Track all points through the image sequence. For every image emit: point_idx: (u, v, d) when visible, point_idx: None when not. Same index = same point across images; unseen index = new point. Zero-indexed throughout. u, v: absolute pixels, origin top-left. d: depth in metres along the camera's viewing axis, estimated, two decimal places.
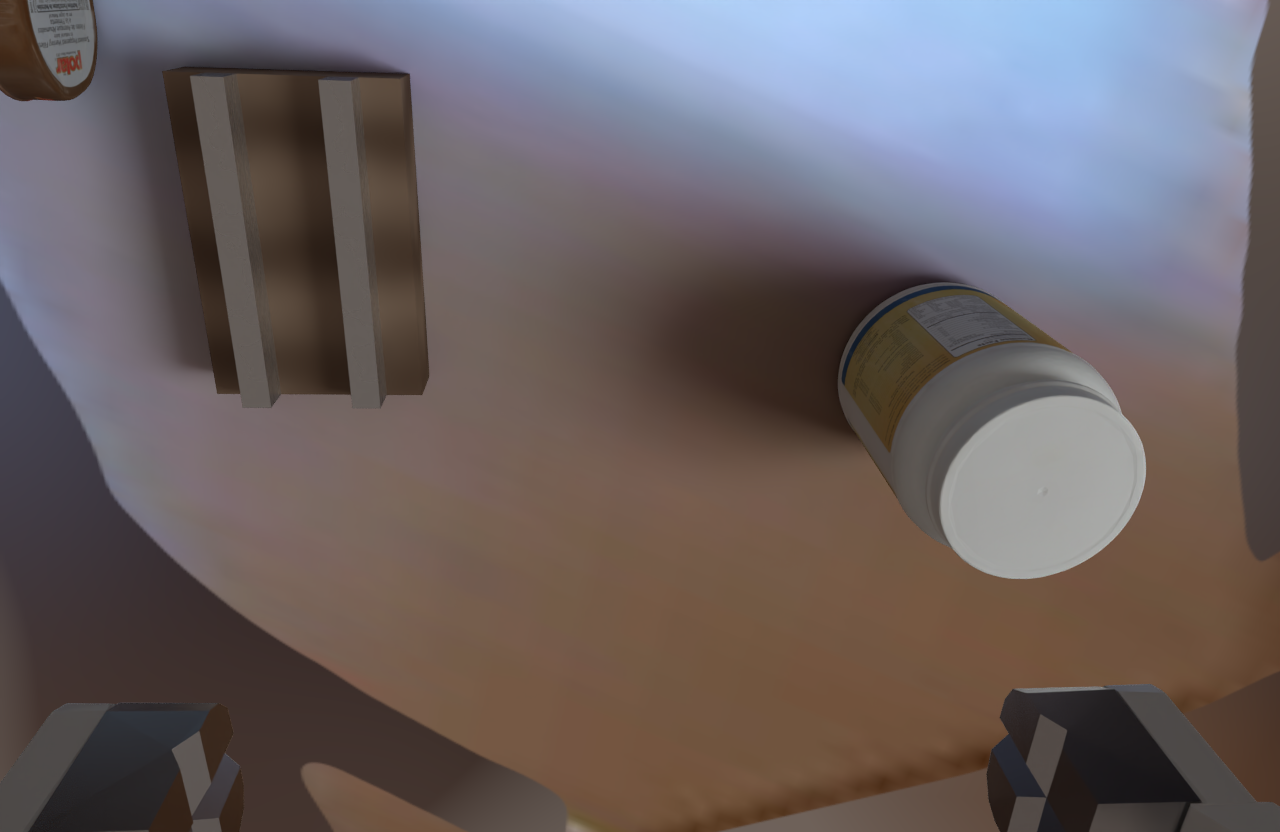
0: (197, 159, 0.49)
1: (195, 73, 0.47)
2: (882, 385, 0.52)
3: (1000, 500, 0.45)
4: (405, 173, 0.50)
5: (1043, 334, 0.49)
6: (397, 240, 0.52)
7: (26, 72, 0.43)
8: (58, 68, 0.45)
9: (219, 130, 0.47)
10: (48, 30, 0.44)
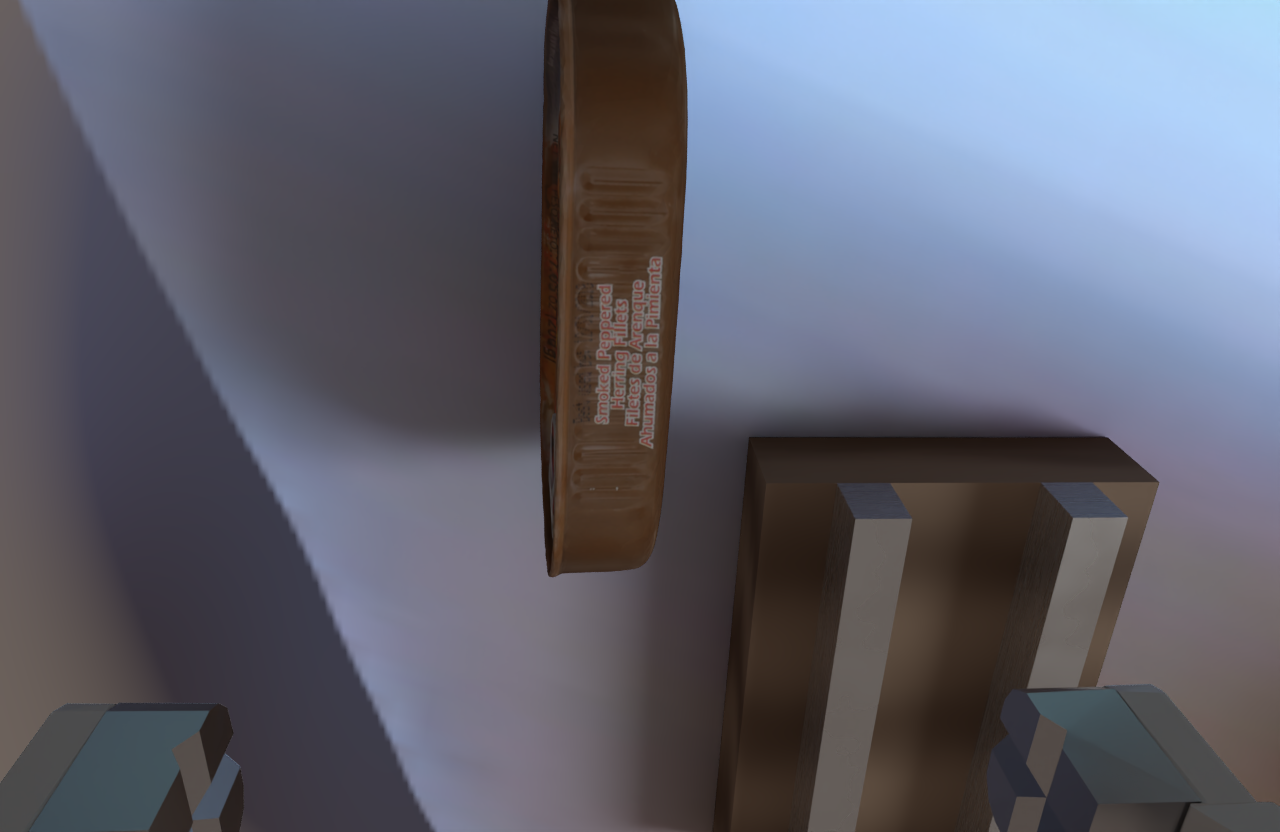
0: (786, 605, 0.29)
1: (821, 484, 0.27)
2: None
3: None
4: (1116, 613, 0.30)
5: None
6: None
7: (621, 563, 0.23)
8: None
9: (878, 595, 0.27)
10: None
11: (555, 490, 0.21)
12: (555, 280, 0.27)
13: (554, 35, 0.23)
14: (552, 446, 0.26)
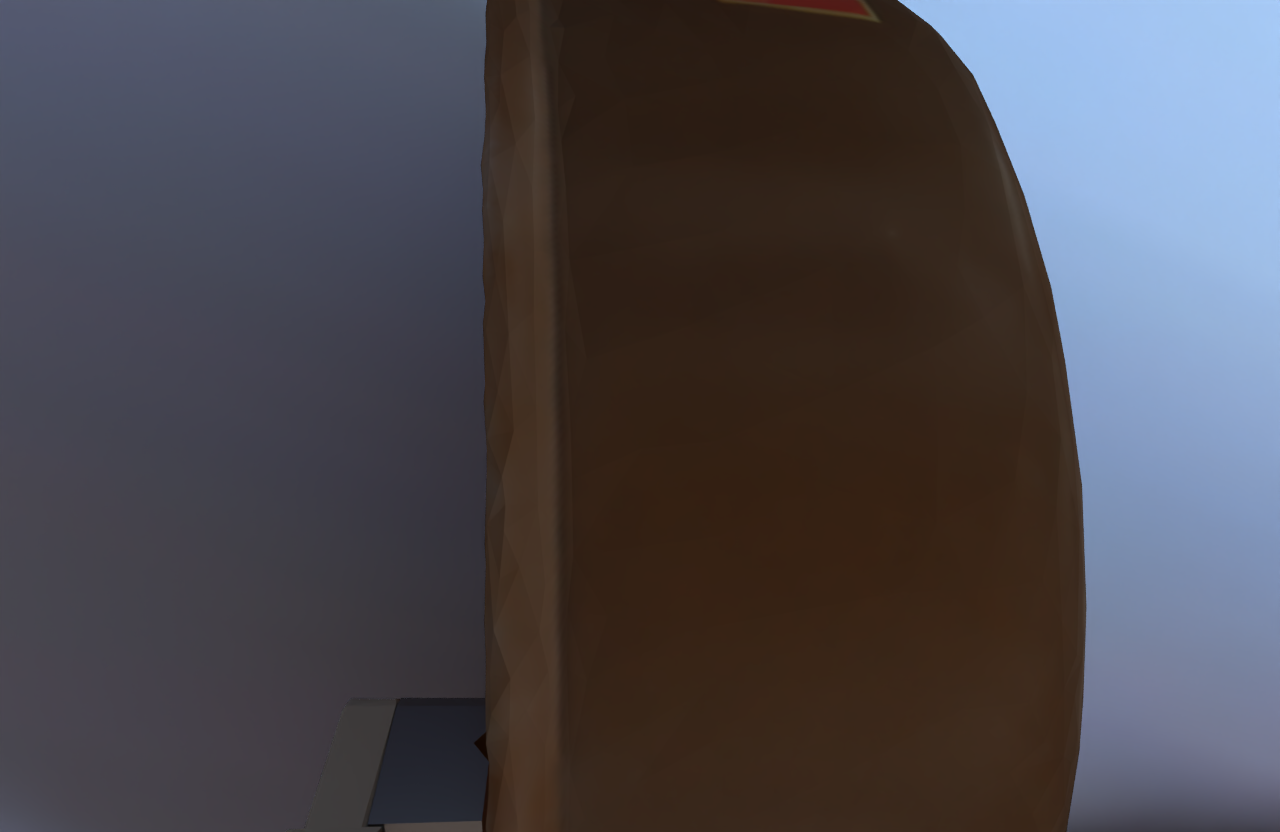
0: None
1: None
2: None
3: None
4: None
5: None
6: None
7: None
8: None
9: None
10: None
11: None
12: None
13: None
14: None
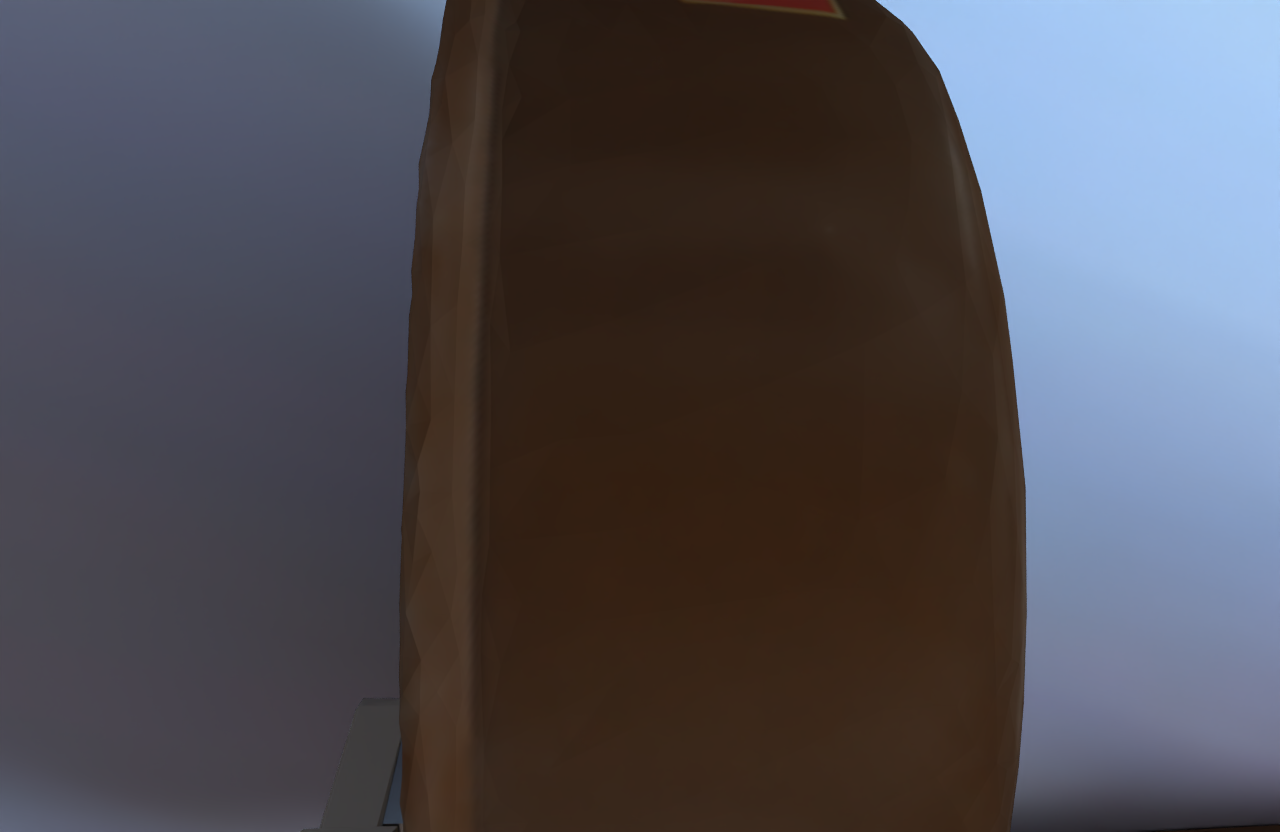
0: None
1: None
2: None
3: None
4: None
5: None
6: None
7: None
8: None
9: None
10: None
11: None
12: None
13: None
14: None
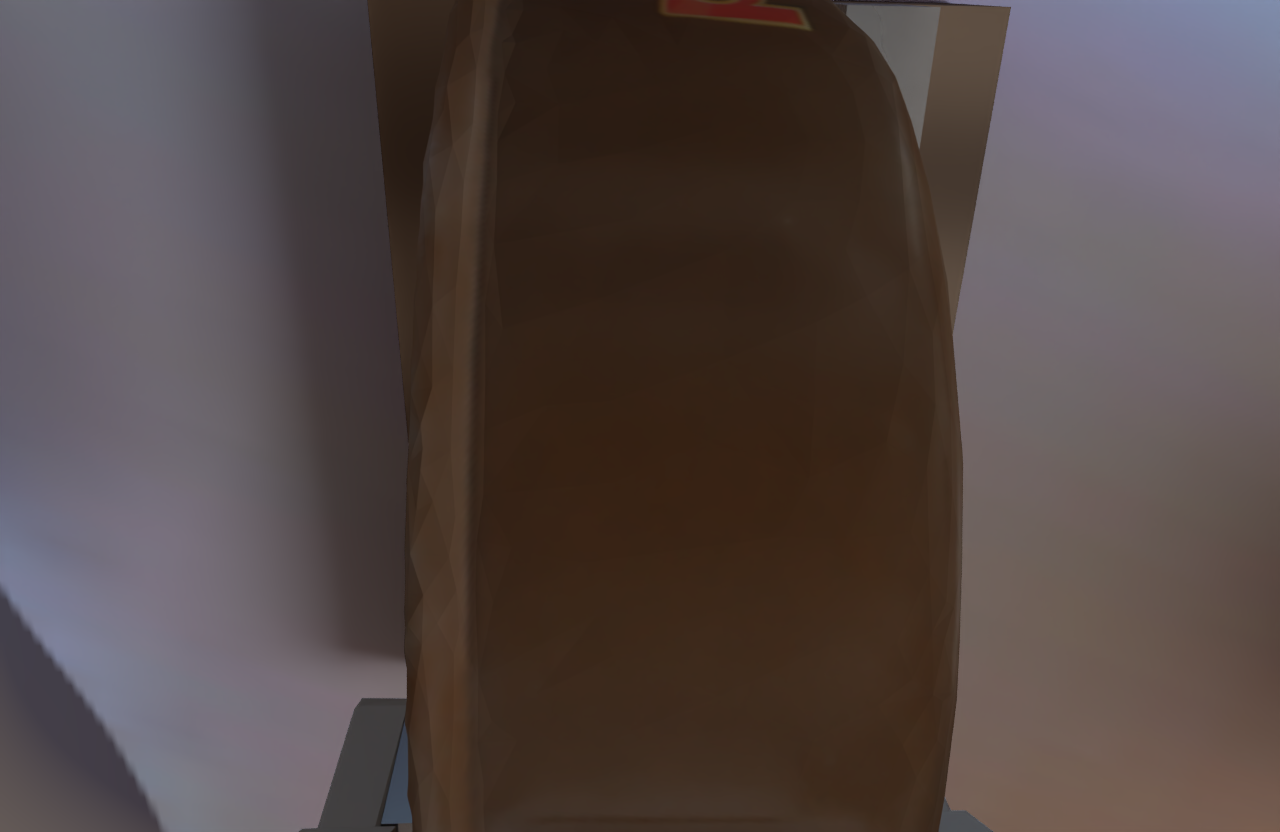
0: None
1: None
2: None
3: None
4: (962, 257, 0.20)
5: None
6: None
7: None
8: None
9: None
10: None
11: None
12: None
13: None
14: None
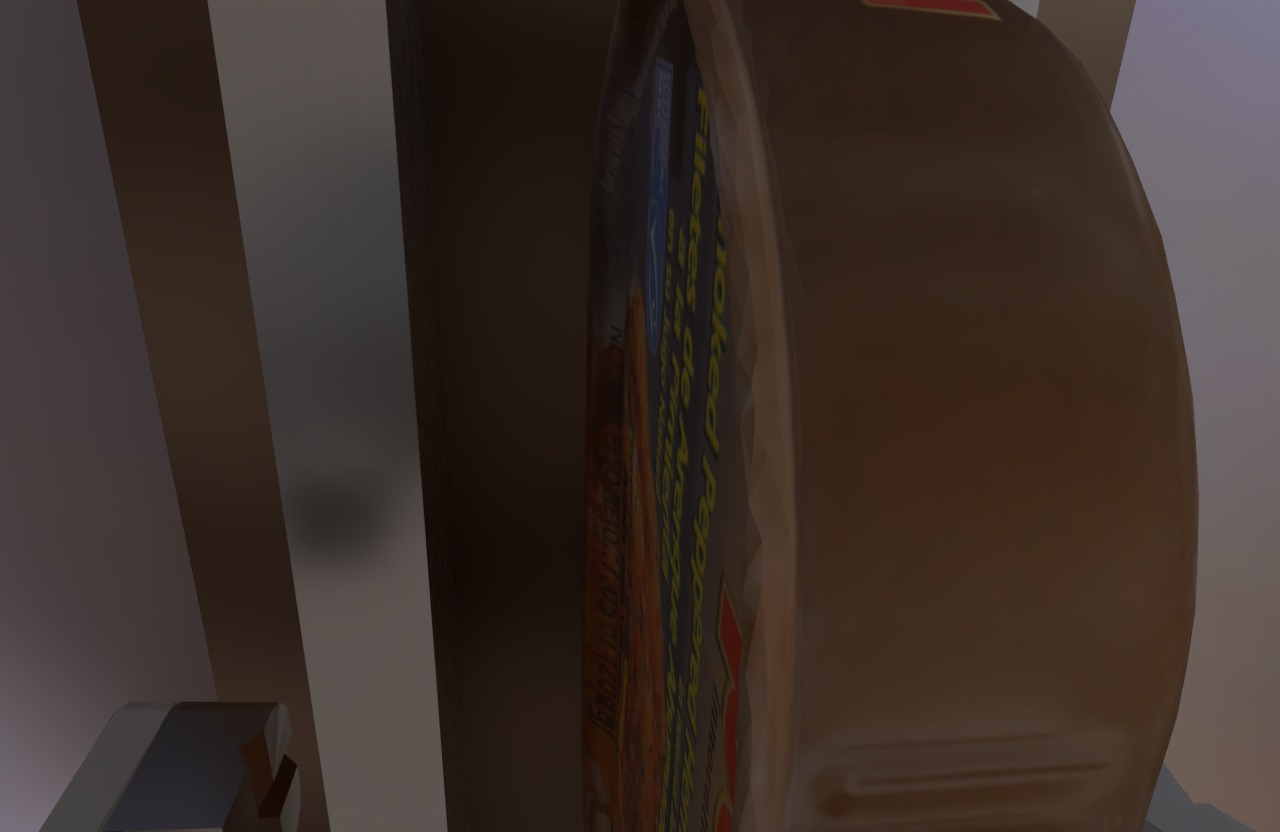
0: (207, 212, 0.11)
1: None
2: None
3: None
4: None
5: None
6: None
7: None
8: None
9: (329, 70, 0.09)
10: None
11: None
12: (614, 599, 0.13)
13: (620, 128, 0.10)
14: None
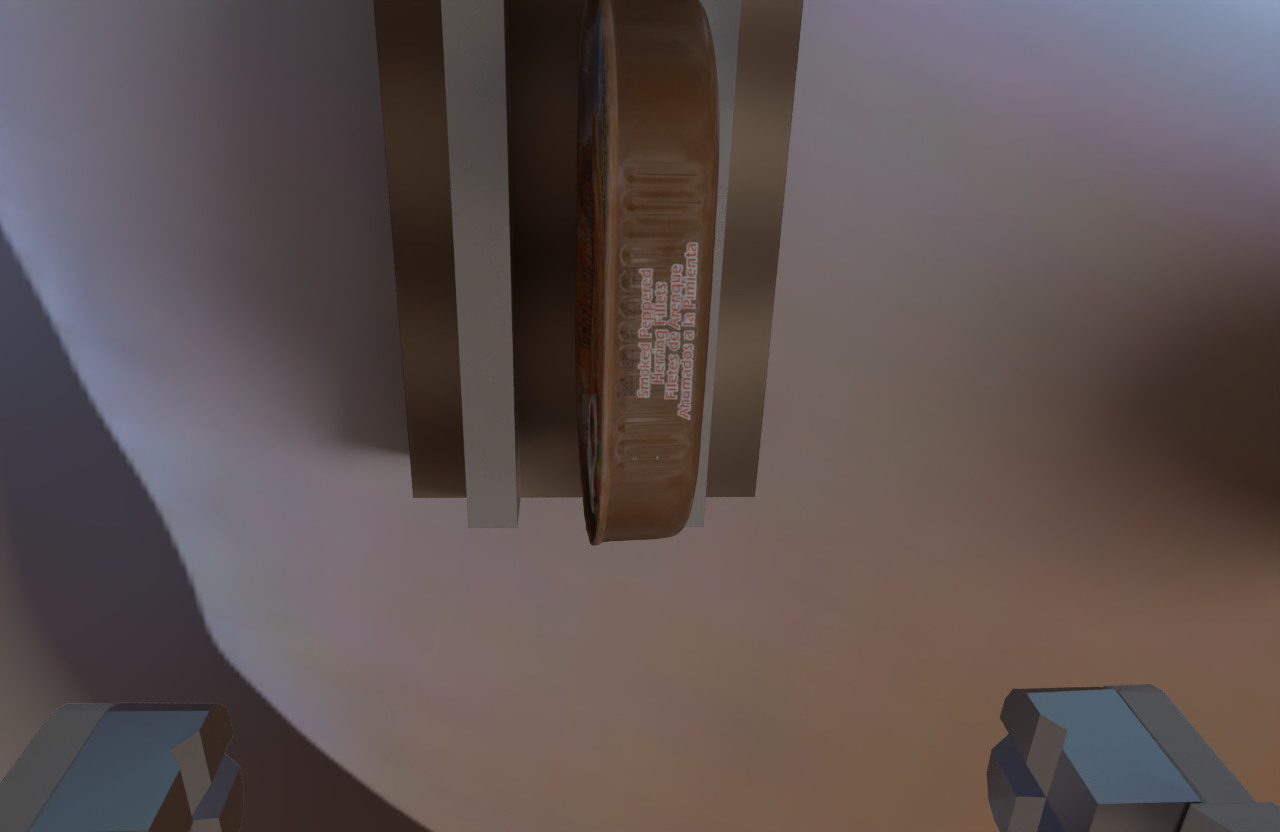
0: (416, 83, 0.26)
1: None
2: None
3: None
4: (790, 111, 0.27)
5: None
6: (756, 234, 0.29)
7: (660, 529, 0.25)
8: None
9: (482, 19, 0.24)
10: None
11: (601, 460, 0.22)
12: (589, 272, 0.28)
13: (588, 44, 0.25)
14: (590, 426, 0.28)
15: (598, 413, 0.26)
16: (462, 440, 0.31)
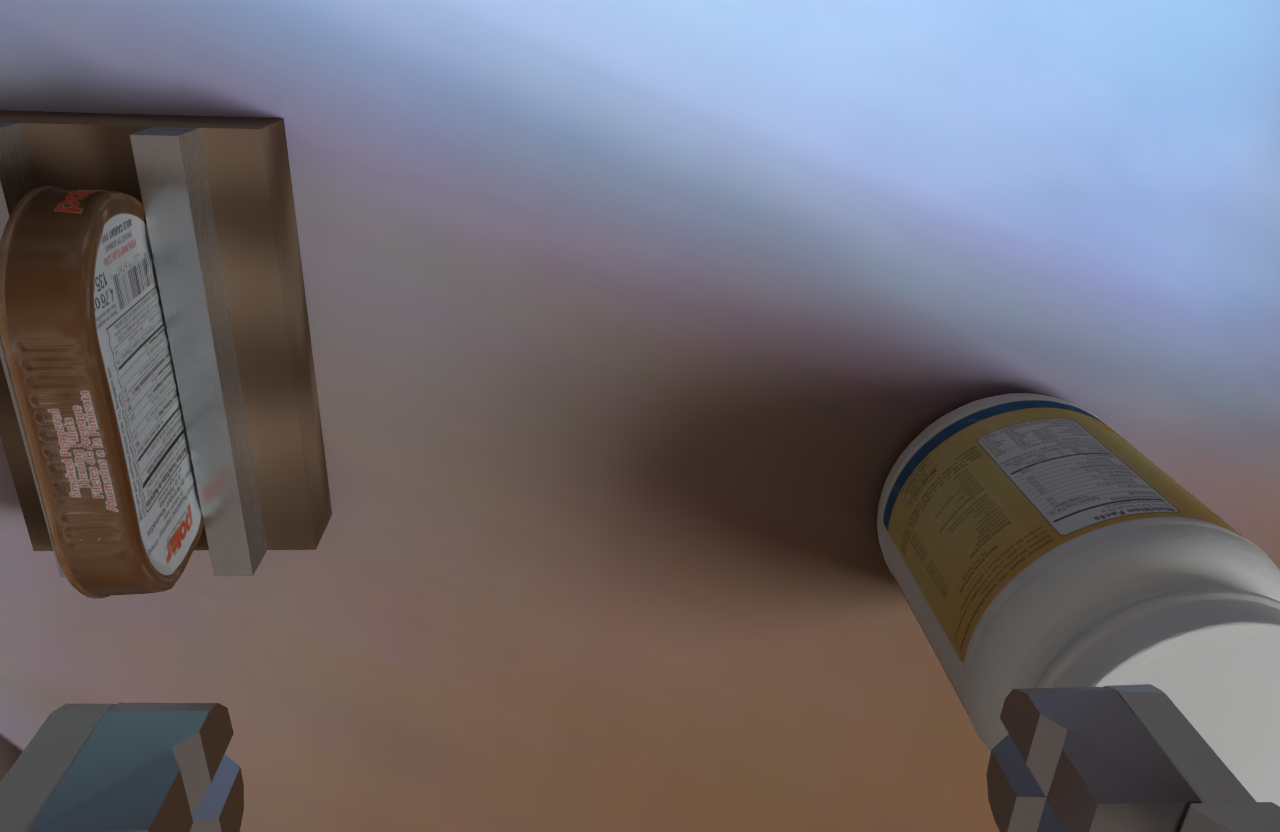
0: None
1: None
2: (948, 554, 0.37)
3: None
4: (275, 260, 0.35)
5: (1182, 493, 0.35)
6: (269, 350, 0.37)
7: (133, 588, 0.33)
8: (168, 555, 0.35)
9: None
10: (157, 520, 0.34)
11: (52, 541, 0.31)
12: None
13: None
14: None
15: None
16: None
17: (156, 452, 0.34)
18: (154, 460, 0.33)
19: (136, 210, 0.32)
